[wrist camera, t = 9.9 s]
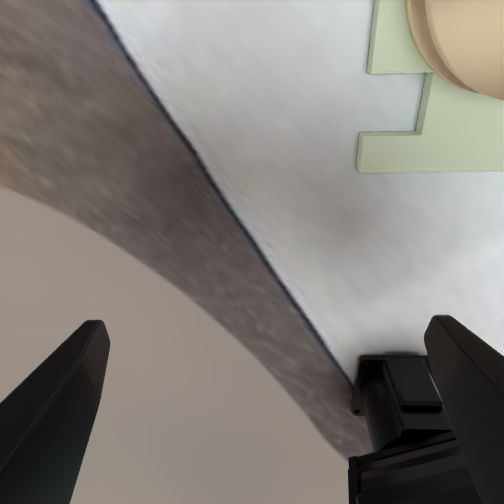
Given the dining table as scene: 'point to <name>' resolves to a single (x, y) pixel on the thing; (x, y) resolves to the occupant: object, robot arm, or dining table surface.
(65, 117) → the dining table surface
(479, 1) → the bobbin
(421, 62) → the notched board
